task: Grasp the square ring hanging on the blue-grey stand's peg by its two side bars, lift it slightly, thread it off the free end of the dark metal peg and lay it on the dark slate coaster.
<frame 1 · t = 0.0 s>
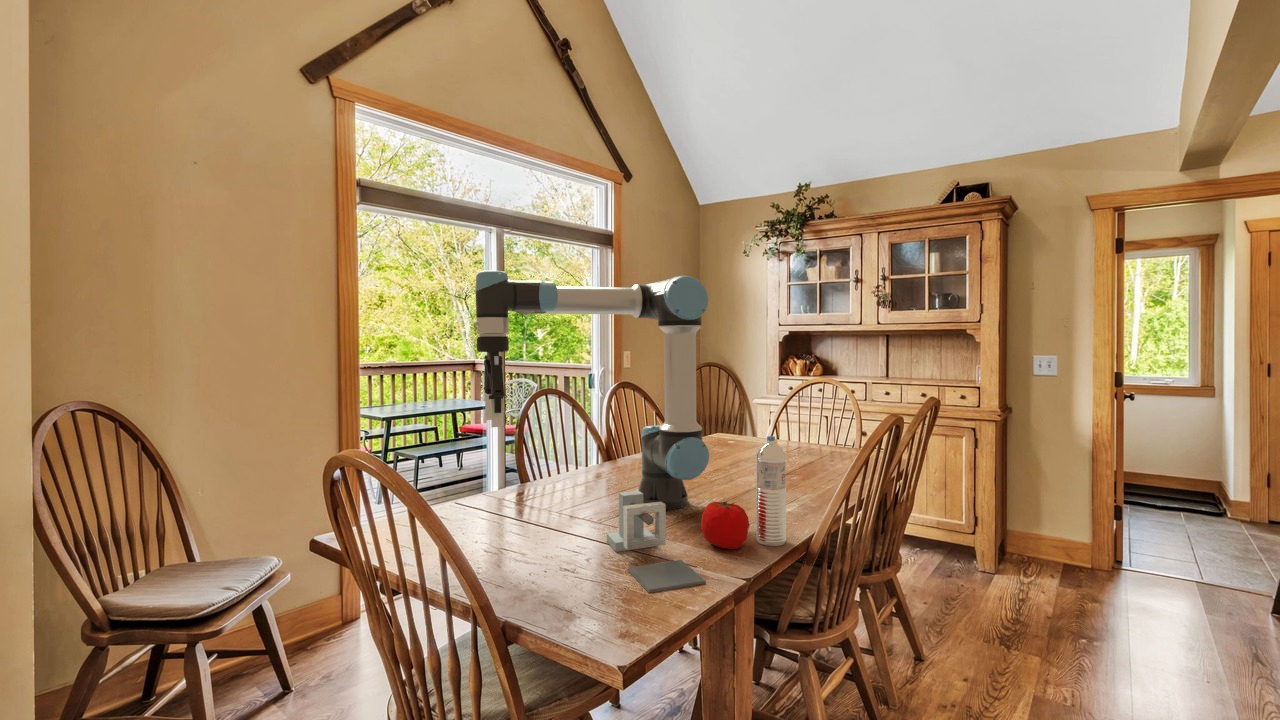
hand: (494, 423, 146), 28 cm above the table, fingers open, 13 cm apart
tomato: (725, 546, 139), on the table
water bottle: (771, 543, 141), on the table
square ring: (644, 545, 132), point 3 cm above the table, touching stand
stand: (631, 543, 141), on the table
coaster: (665, 576, 121), on the table
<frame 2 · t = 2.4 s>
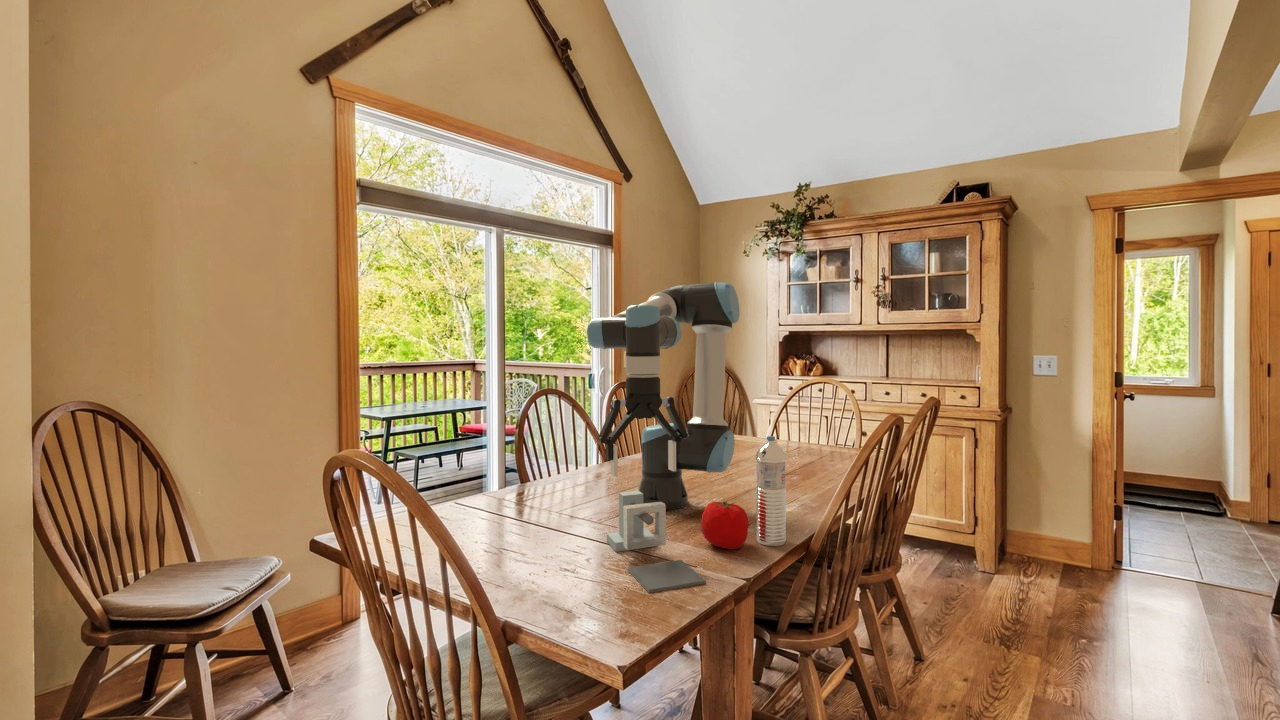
hand: (643, 472, 132), 19 cm above the table, fingers open, 13 cm apart
nothing on the table moved.
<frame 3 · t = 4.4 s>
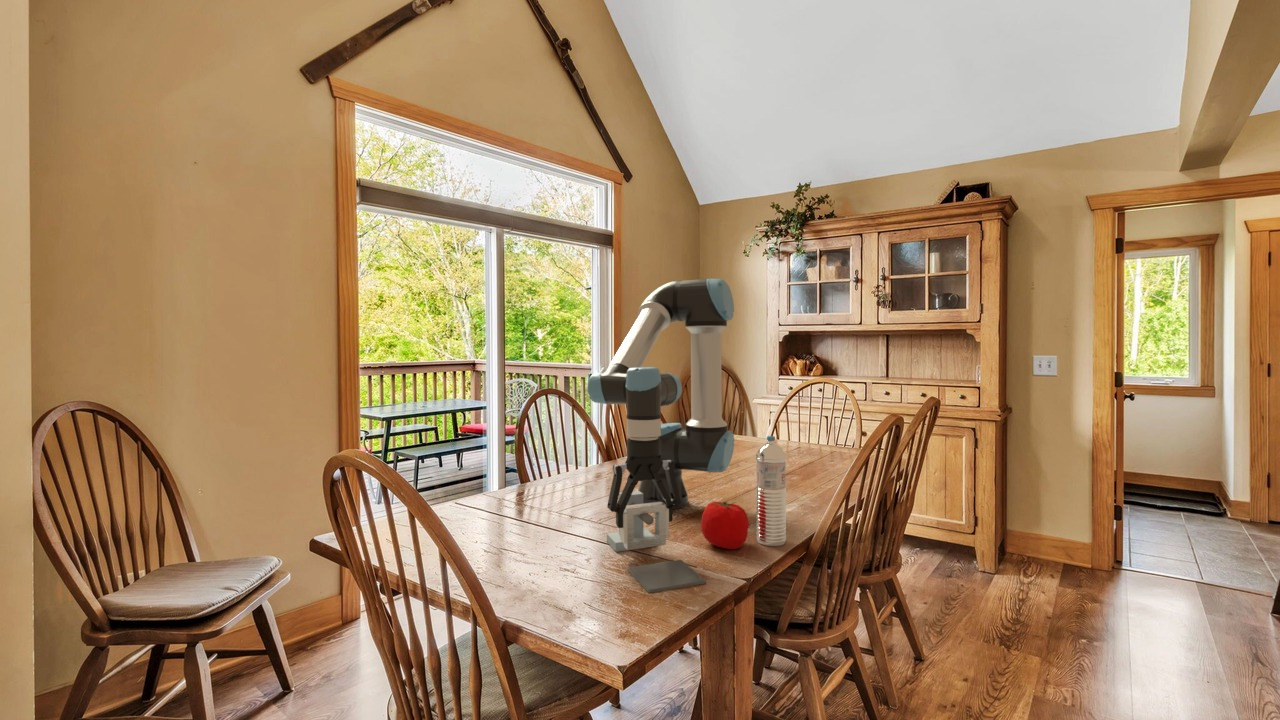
hand: (644, 538, 132), 4 cm above the table, fingers closed on square ring, 9 cm apart
square ring: (644, 545, 132), point 3 cm above the table, touching gripper, stand
everything else where it was.
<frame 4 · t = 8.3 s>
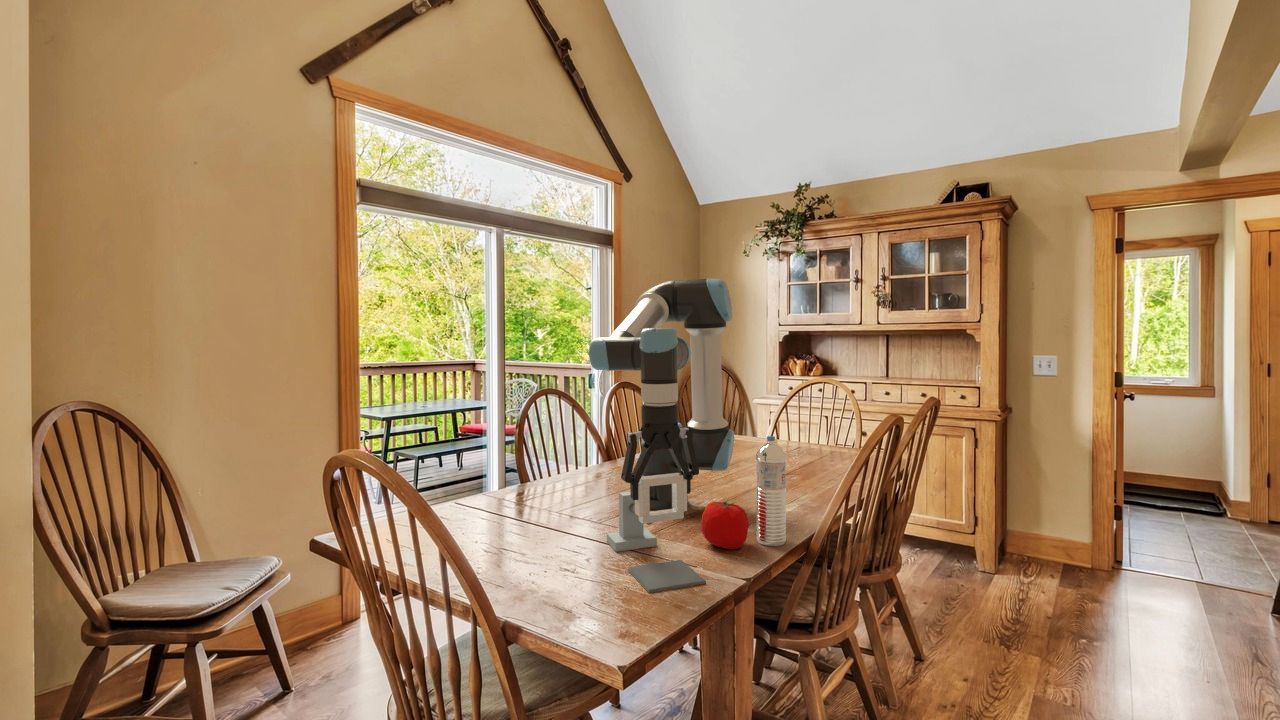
hand: (661, 512, 124), 12 cm above the table, fingers closed on square ring, 9 cm apart
square ring: (661, 519, 124), point 11 cm above the table, touching gripper
everything else where it was.
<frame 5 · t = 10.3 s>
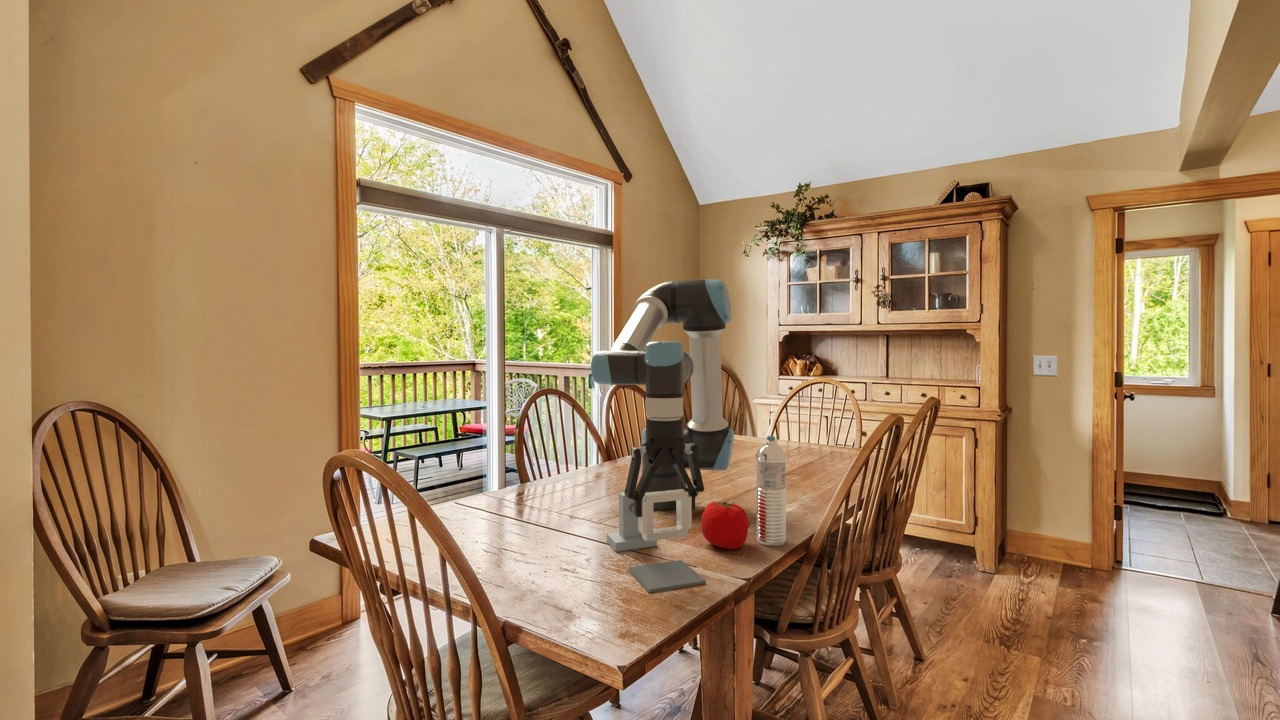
hand: (665, 529, 121), 10 cm above the table, fingers closed on square ring, 9 cm apart
square ring: (665, 536, 121), point 8 cm above the table, touching gripper
everything else where it was.
when the fingers open (4 cm above the table, at t = 12.1 s): square ring drops 2 cm, resting on coaster.
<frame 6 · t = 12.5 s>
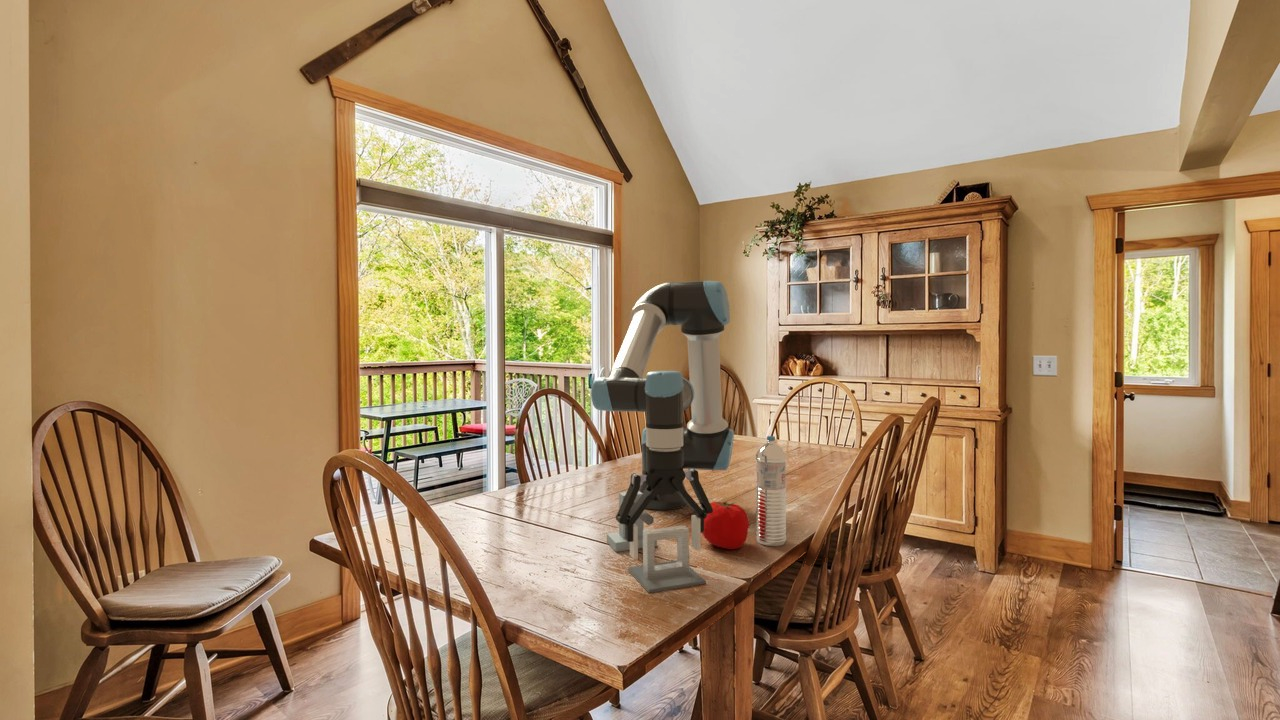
hand: (665, 552, 121), 5 cm above the table, fingers open, 13 cm apart
square ring: (666, 573, 121), point 1 cm above the table, touching coaster
everything else where it was.
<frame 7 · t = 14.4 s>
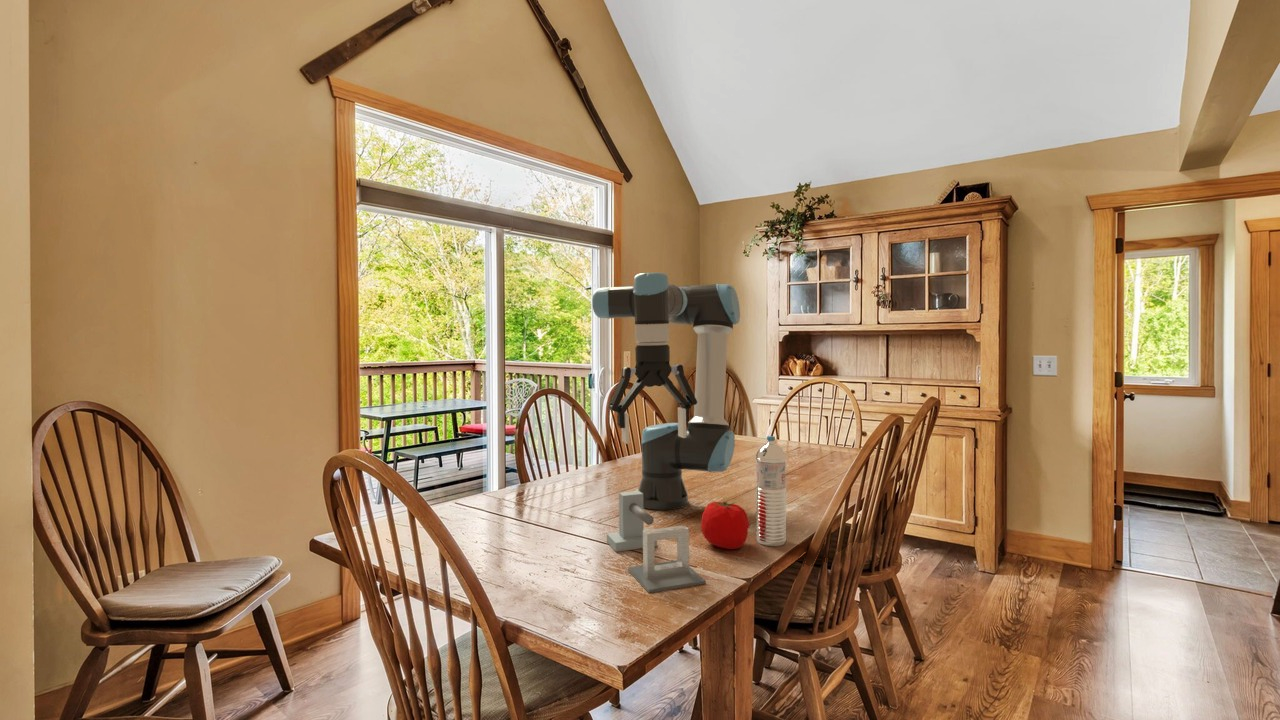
hand: (654, 439, 133), 26 cm above the table, fingers open, 13 cm apart
nothing on the table moved.
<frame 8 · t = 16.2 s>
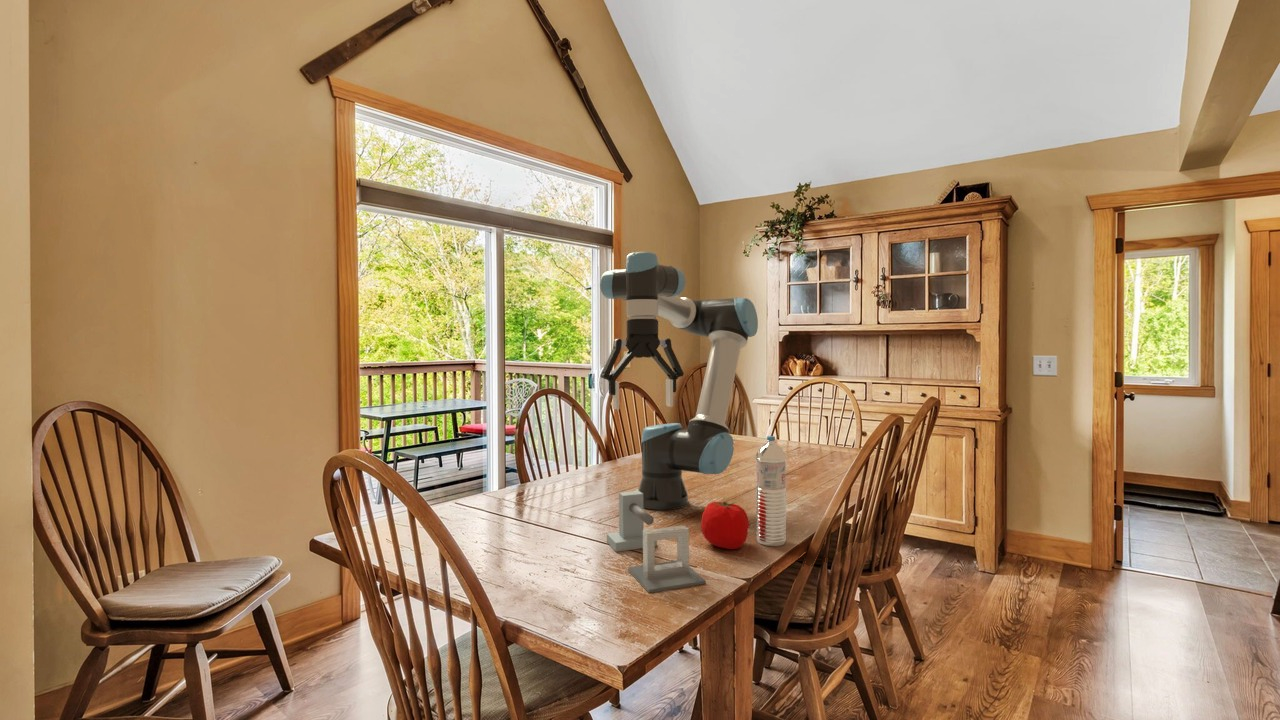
hand: (643, 407, 143), 32 cm above the table, fingers open, 13 cm apart
nothing on the table moved.
at the end: square ring inside the target area on the coaster (0.1 cm from its centre), point 0.6 cm above the coaster's base; square ring touching coaster; the gripper is holding nothing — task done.
